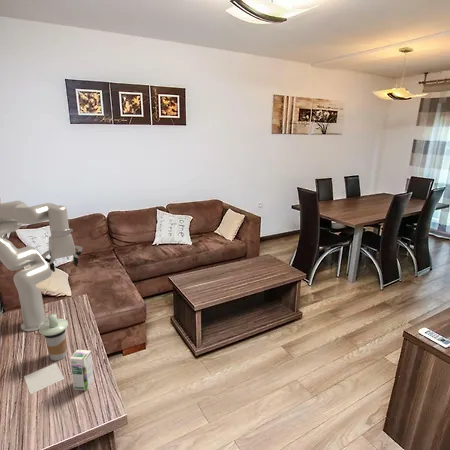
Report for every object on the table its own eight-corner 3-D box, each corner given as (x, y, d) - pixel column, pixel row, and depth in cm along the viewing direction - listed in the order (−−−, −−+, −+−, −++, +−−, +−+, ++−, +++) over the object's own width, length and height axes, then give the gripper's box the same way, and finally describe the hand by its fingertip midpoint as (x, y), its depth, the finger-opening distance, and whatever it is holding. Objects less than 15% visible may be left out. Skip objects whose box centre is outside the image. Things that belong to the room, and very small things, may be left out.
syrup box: (73, 390, 118) (68, 358, 114) (81, 378, 124) (77, 348, 120) (87, 391, 118) (83, 360, 114) (94, 379, 124) (91, 349, 120)
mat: (23, 377, 124) (23, 376, 124) (56, 363, 132) (56, 362, 132) (30, 395, 115) (30, 394, 115) (64, 379, 123) (64, 378, 123)
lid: (36, 326, 132) (34, 314, 130) (64, 317, 139) (62, 306, 138) (43, 339, 124) (41, 326, 123) (71, 328, 131) (70, 316, 130)
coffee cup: (60, 364, 131) (55, 334, 127) (43, 361, 133) (38, 332, 129) (73, 352, 139) (69, 323, 135) (57, 349, 140) (52, 321, 136)
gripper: (77, 227, 144) (81, 261, 149) (36, 234, 133) (41, 270, 138) (83, 231, 139) (86, 265, 144) (40, 238, 128) (46, 275, 133)
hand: (64, 267), depth 141 cm, fingers open, 9 cm apart
